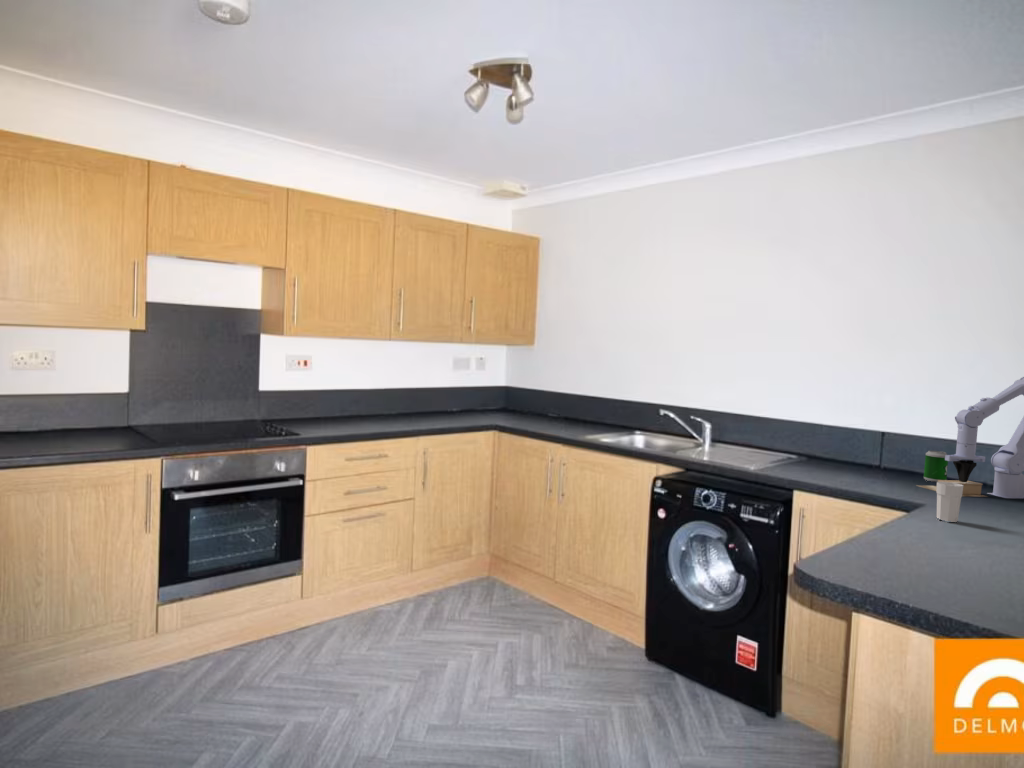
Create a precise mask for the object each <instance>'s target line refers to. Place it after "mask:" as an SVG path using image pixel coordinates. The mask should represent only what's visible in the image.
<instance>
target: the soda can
mask: <svg viewBox="0 0 1024 768" xmlns="http://www.w3.org/2000/svg"><path fill="white" fill-rule="evenodd" d="M945 455H948V453H947V452H945V451H940V450H939V451H938V450H928V451H927V452H925V459H924V468H923V469H924V470H923V480H925V481H926V480H927V481H931V483H932V482H934V483H937V482H938V480H948V479H947V478H948V476H947V475H948V468H949V467H948V466H949V461H946V460H945ZM927 481H926V482H927Z"/></svg>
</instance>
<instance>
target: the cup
mask: <svg viewBox="0 0 1024 768" xmlns="http://www.w3.org/2000/svg"><path fill="white" fill-rule="evenodd" d="M936 486H937V491H936V517H937V518H939V519H941V520H945V521H951V522H957V521H958V522H959V514H960V509H961V501H962V497H963V496H962V494H963V487H964V486H963V485H961V484H957V483H951V482H936ZM958 522H957V523H958Z"/></svg>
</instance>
